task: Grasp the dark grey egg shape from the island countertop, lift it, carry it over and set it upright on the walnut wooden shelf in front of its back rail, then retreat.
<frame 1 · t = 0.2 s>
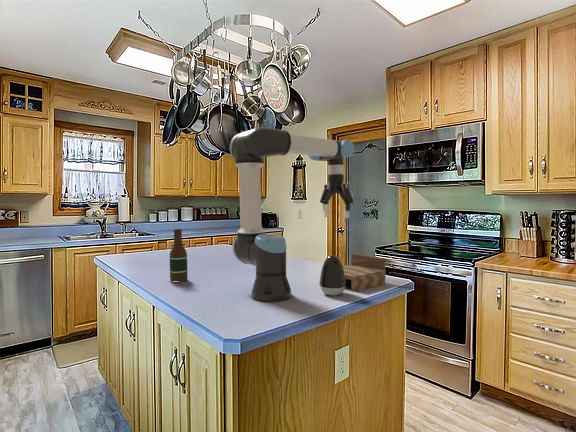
hand: (336, 217, 175), 28 cm above the counter, fingers open, 13 cm apart
beer bottle: (179, 281, 165), on the counter
dark grey egg shape: (332, 294, 138), on the counter
walnut shelf: (353, 283, 155), on the counter
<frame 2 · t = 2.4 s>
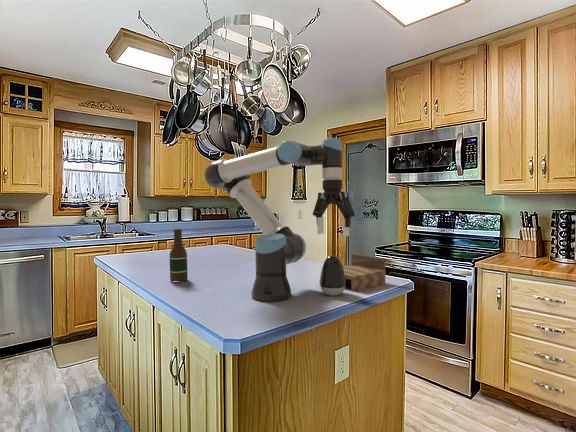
hand: (332, 234, 137), 23 cm above the counter, fingers open, 13 cm apart
nothing on the counter moved.
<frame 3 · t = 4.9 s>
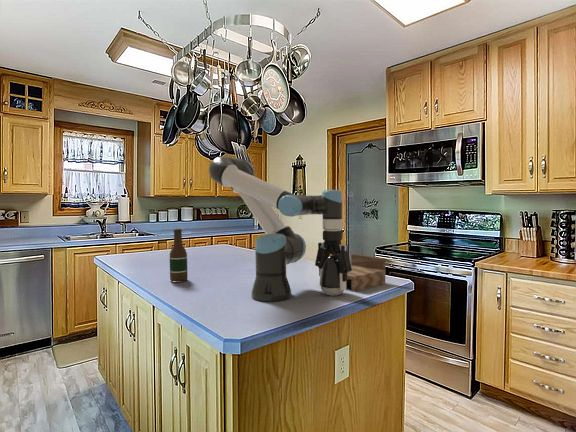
hand: (332, 287, 138), 3 cm above the counter, fingers closed on dark grey egg shape, 10 cm apart
dark grey egg shape: (332, 294, 138), on the counter, touching gripper
everything else where it was.
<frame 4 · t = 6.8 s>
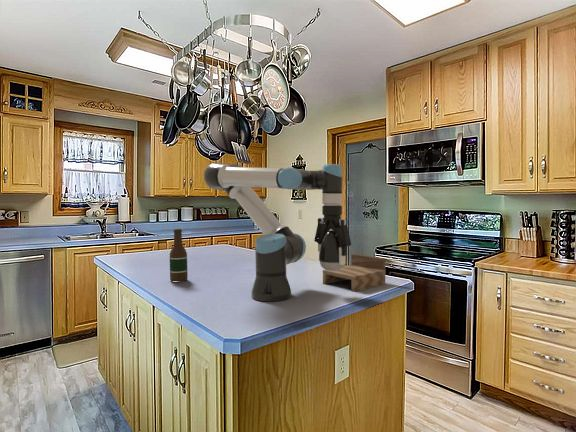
hand: (331, 262, 138), 12 cm above the counter, fingers closed on dark grey egg shape, 10 cm apart
dark grey egg shape: (332, 269, 138), point 9 cm above the counter, touching gripper
everything else where it was.
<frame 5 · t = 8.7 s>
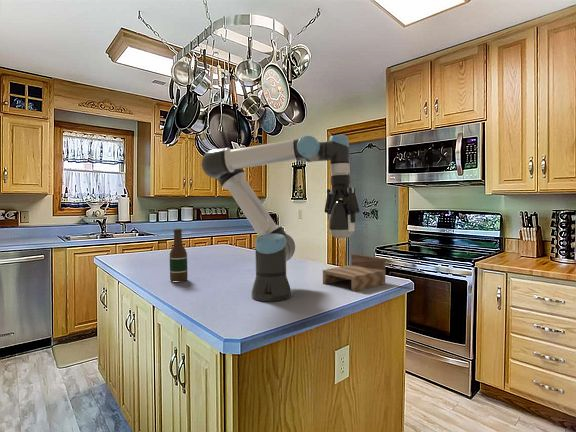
hand: (341, 230, 142), 24 cm above the counter, fingers closed on dark grey egg shape, 10 cm apart
dark grey egg shape: (342, 238, 142), point 21 cm above the counter, touching gripper
everything else where it was.
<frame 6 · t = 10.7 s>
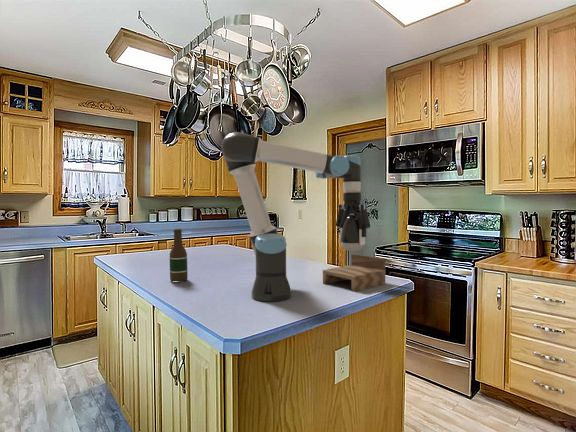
hand: (352, 243, 153), 18 cm above the counter, fingers closed on dark grey egg shape, 10 cm apart
dark grey egg shape: (352, 250, 153), point 15 cm above the counter, touching gripper
everything else where it was.
when the fingers open (10 cm above the counter, at t = 12.6 s): dark grey egg shape drops 1 cm, resting on walnut shelf.
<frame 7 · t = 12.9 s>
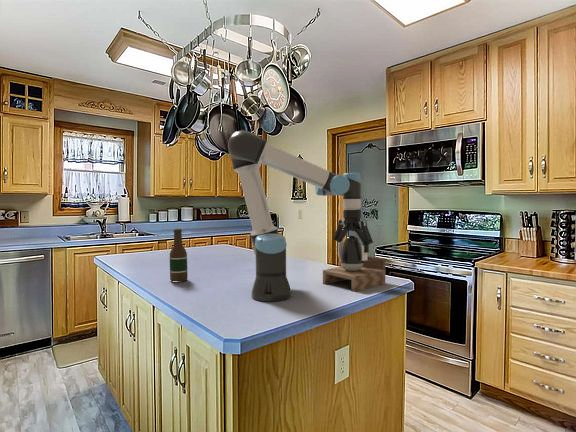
hand: (352, 258, 154), 11 cm above the counter, fingers open, 13 cm apart
dark grey egg shape: (352, 270, 154), point 6 cm above the counter, touching walnut shelf
everything else where it was.
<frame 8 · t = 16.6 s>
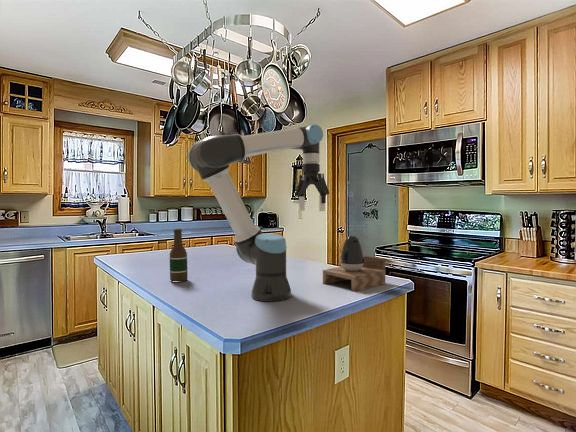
hand: (311, 210, 161), 32 cm above the counter, fingers open, 13 cm apart
nothing on the counter moved.
at the end: dark grey egg shape inside the target area on the walnut shelf (0.1 cm from its centre), point 5.8 cm above the walnut shelf's base; dark grey egg shape tilted 0°; the gripper is holding nothing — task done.
